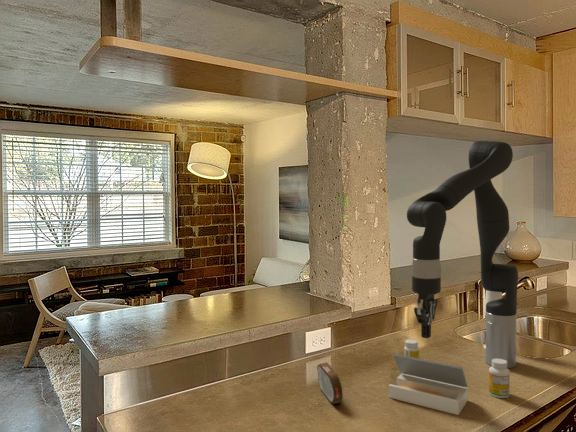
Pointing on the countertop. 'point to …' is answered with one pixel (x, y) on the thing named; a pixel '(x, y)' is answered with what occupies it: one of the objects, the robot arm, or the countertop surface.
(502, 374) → the supplement bottle
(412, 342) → the supplement bottle
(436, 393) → the rod
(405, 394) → the white open tray
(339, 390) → the tin
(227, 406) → the countertop surface
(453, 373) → the cover
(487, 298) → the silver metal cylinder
